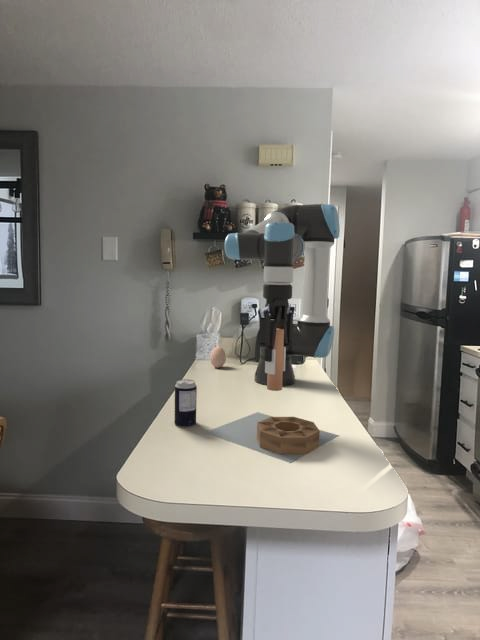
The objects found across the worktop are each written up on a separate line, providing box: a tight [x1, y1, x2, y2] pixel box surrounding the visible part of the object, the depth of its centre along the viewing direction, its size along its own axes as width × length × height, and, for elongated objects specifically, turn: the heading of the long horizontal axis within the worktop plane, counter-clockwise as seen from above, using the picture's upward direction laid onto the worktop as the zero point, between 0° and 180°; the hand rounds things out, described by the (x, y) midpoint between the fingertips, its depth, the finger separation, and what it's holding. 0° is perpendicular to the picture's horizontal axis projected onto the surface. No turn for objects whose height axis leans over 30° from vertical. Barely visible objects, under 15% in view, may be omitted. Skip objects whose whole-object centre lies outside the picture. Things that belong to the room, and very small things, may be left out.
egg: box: [209, 345, 227, 369], centre depth 187 cm, size 7×7×9 cm
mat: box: [204, 411, 340, 464], centre depth 113 cm, size 22×26×1 cm
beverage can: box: [174, 378, 198, 428], centre depth 118 cm, size 6×6×12 cm
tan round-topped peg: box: [266, 328, 284, 392], centre depth 118 cm, size 4×4×16 cm
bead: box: [257, 416, 321, 455], centre depth 107 cm, size 14×14×4 cm
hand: (275, 371), depth 118 cm, fingers closed on tan round-topped peg, 4 cm apart
